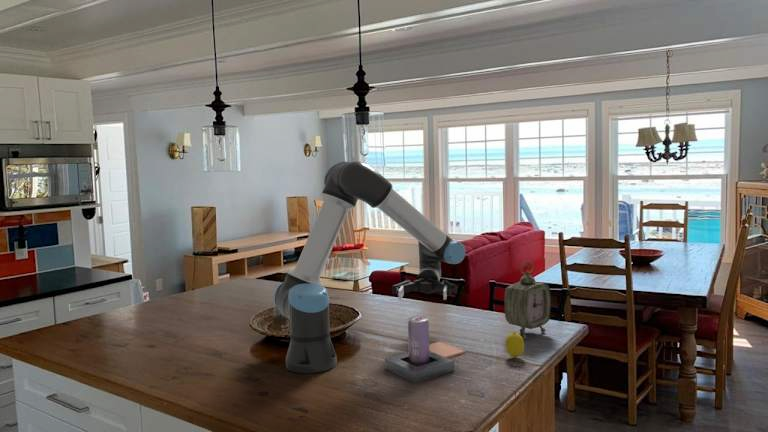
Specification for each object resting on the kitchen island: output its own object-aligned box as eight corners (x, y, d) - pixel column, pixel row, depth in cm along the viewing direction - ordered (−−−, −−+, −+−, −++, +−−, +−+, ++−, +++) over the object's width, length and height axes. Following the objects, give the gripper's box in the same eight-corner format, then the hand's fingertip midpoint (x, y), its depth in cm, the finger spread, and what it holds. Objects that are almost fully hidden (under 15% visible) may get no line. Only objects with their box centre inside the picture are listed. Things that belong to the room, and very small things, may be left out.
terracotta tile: (435, 361, 165) (435, 359, 165) (410, 351, 175) (410, 349, 175) (465, 352, 172) (465, 350, 172) (439, 343, 182) (439, 341, 182)
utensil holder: (269, 337, 194) (267, 304, 193) (276, 332, 200) (275, 299, 199) (284, 338, 192) (283, 304, 191) (292, 333, 198) (290, 300, 197)
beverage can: (433, 368, 160) (432, 317, 159) (423, 375, 155) (422, 322, 154) (415, 364, 163) (414, 314, 162) (405, 371, 158) (403, 319, 157)
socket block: (415, 383, 149) (415, 372, 149) (385, 368, 161) (385, 358, 161) (454, 370, 158) (453, 360, 157) (422, 357, 169) (422, 348, 169)
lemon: (511, 362, 163) (510, 335, 162) (502, 356, 168) (501, 330, 168) (527, 360, 165) (527, 333, 164) (518, 354, 170) (518, 328, 169)
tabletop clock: (524, 342, 181) (524, 266, 179) (502, 336, 188) (502, 263, 186) (550, 332, 190) (550, 260, 188) (528, 327, 197) (528, 257, 195)
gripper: (465, 291, 186) (464, 307, 166) (392, 291, 190) (381, 307, 170) (464, 269, 186) (463, 282, 165) (391, 269, 190) (380, 283, 169)
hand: (422, 295), depth 167 cm, fingers open, 13 cm apart
